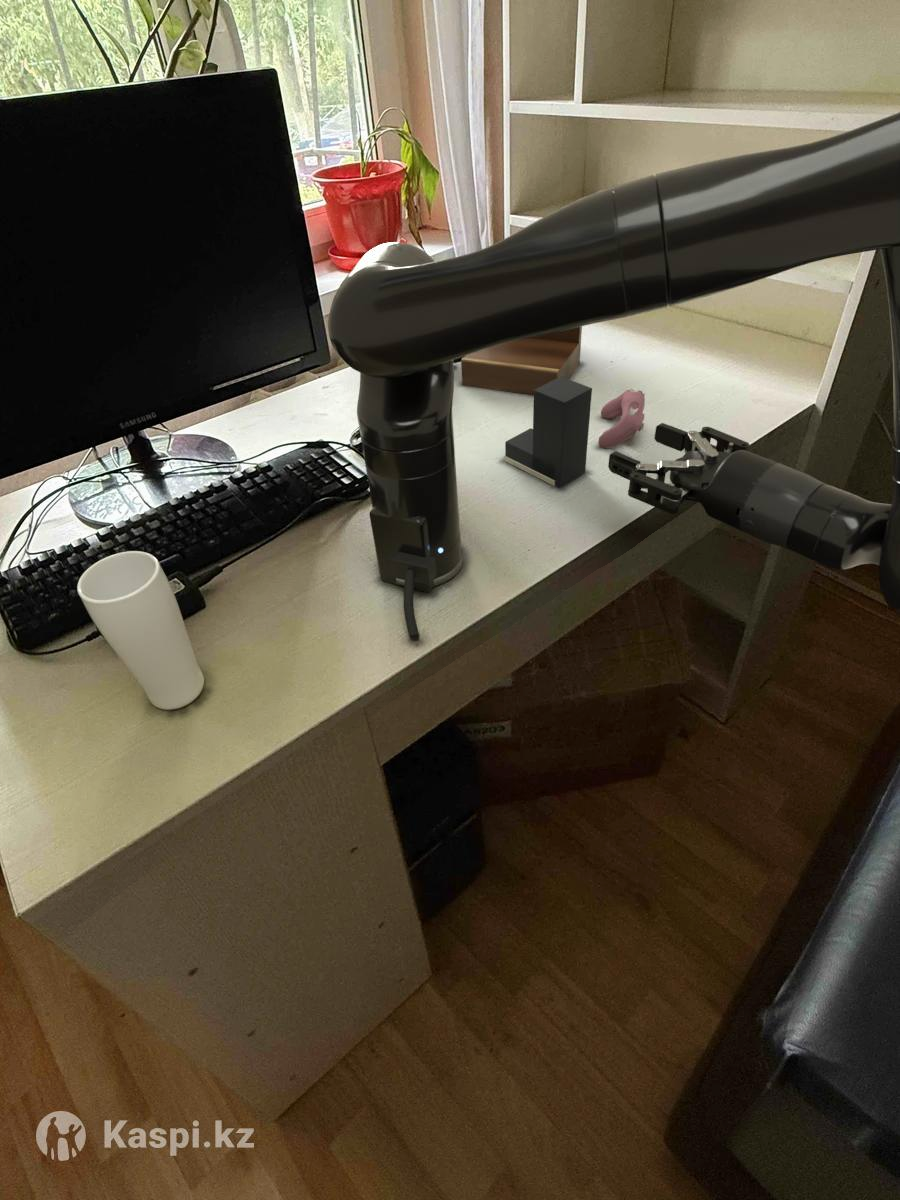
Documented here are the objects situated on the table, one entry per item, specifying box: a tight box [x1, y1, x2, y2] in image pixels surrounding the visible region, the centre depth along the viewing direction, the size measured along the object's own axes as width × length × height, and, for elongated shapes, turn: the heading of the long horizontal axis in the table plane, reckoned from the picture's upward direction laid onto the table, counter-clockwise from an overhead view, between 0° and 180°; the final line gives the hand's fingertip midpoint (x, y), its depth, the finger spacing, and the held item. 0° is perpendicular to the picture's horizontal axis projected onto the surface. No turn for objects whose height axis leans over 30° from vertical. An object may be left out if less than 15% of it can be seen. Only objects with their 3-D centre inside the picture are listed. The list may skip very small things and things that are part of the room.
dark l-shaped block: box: [503, 377, 593, 489], centre depth 88 cm, size 10×5×12 cm, turn 42°
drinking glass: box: [76, 550, 205, 711], centre depth 62 cm, size 7×7×15 cm
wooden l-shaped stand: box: [460, 326, 583, 396], centre depth 110 cm, size 13×16×12 cm
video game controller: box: [598, 387, 646, 449], centre depth 96 cm, size 10×5×7 cm, turn 168°
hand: (634, 445), depth 79 cm, fingers open, 8 cm apart
